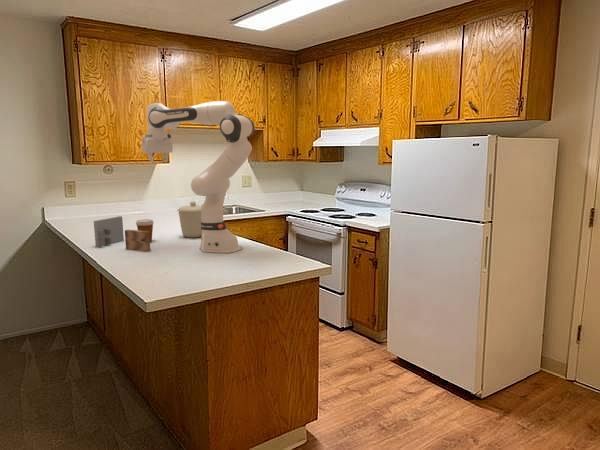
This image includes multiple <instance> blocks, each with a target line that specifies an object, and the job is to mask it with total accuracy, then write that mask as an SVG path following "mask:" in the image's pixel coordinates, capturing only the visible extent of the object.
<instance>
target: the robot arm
mask: <svg viewBox="0 0 600 450" xmlns="http://www.w3.org/2000/svg"><path fill="white" fill-rule="evenodd" d="M146 122H147V125H148V126H147V134H144V135H143V137H142V138H141V139H142V141H141V152H142V154H147V157H148V159H149V163H154V162H155V158H153V154H162V155H163V157H161V162H167V158H168V153H169V154H171V153H173V149H174V146H173V140H172V139H173V134H171V133H170V132H168V131H166V129H176V128H178V127H179V126H180V125H181V123H182V122H188V123H194V124H201V125H208V126H209V125H210V126H211V125H219V130H220V132H221V135H222V136H223V137H224V138H225V140H226V142H228V143H229V145H227V147H226V148H225V149H224V151H223V152H222V153H221V154H220V156H218V157H217V159H216V160H215V161H214V162H213V163H212V164H211V165H210V166H208V167H206V169H205V170H203V171H202V172H201V173H200V174H198V175H197V176H194V178H192V180H191V183H190V187H191V190H192V192H193V193H194V194H195V195H197V196H200V197H204V202H203V204H202V205H201V206H202V207H201V218H202V222H201V231H202V237H200V239H201V240H200V245H199V250H200V251H201V252H203V253H219V254H220V253H221V254H222V253H223V254H231V253H236V252H238V251H241V250H243V248H244V247H243V245H239V241H238V237H237V236H236V235H235V234H234V233H232V232H231V231H230V230H229V229H228V228H227V226H228V224H229V223H228V222H225V221H224V203H225V197H226V193H227V192H228V191H229V189H230V185H231V181H230V178H231V177H233V176H234V175H235V174H236V173H237V172H238V171H239V169H240V168H241V167H242V166H243V165H244V163H246V161H247V160H248V157H249V156H250V154H251V153H252V152H253V147H252V144H251V143H250V141H249V140H248V138H250V137H251V136H252V135H253V134H254V132H255V129H256V128H255V127H256V126H255V123H254V121H253V120H252V119H251V118H249V117H248V116H245V115H244V114H242V113H236V109H235V106H234V105H233V104H232V103H231V102H230V101H227V100H214V101H213V100H212V101H207V102H206V101H205V102H202V103H198V104H195V105H191V106H186V107H180V108H179V107H178V108H169V107H168V106H165V105H164V104H163V103H161V102H153V103H149V104H148V106H147V108H146Z"/></svg>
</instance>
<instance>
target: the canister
mask: <svg viewBox="0 0 600 450" xmlns="http://www.w3.org/2000/svg"><path fill="white" fill-rule="evenodd" d="M196 204H197V202H196V201H194V200H192V201H191V200H190V202H189V205H183V206H180V207H179V208H177V212H178V216H179V223H180V229H181V234H182V236H184V238H189V239H192V238H193V239H197V238H201V237H202V231H201V222H202V218H201V207H202V205H199V204H198V205H196Z"/></svg>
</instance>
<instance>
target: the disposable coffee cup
mask: <svg viewBox="0 0 600 450" xmlns="http://www.w3.org/2000/svg"><path fill="white" fill-rule="evenodd" d="M135 225H136V227H137V230H138V231H149V234H150V243H151V242H153V231H154V230H153V229H154V228H153V227H154V220H153V219H147V218H146V219H139V220H136V222H135Z"/></svg>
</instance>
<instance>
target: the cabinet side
mask: <svg viewBox="0 0 600 450" xmlns="http://www.w3.org/2000/svg"><path fill="white" fill-rule="evenodd" d="M123 223H124V221H123V216H122V215H120V216H114V217H109V218H108V217H107V218H103V219H96V220H93V228H94V229H93V232H94V242H95V248H100V247H104V246H108V245H109V246H110V245H112V244H116V243H117V244H118V243H121V242H124V241H125V234H124V224H123Z"/></svg>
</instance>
